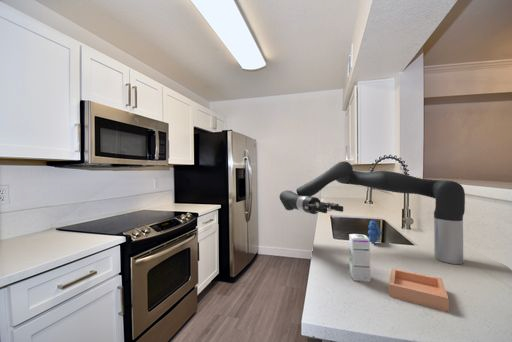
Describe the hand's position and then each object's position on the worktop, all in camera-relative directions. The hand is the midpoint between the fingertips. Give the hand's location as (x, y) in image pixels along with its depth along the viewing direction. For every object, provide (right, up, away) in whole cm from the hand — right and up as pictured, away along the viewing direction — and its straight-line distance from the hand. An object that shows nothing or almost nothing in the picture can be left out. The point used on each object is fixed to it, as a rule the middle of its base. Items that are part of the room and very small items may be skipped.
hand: (334, 209), depth 88 cm
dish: (+18, -22, -20) cm, 34 cm away
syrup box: (+5, -22, -10) cm, 25 cm away
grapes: (+31, -23, +28) cm, 47 cm away
